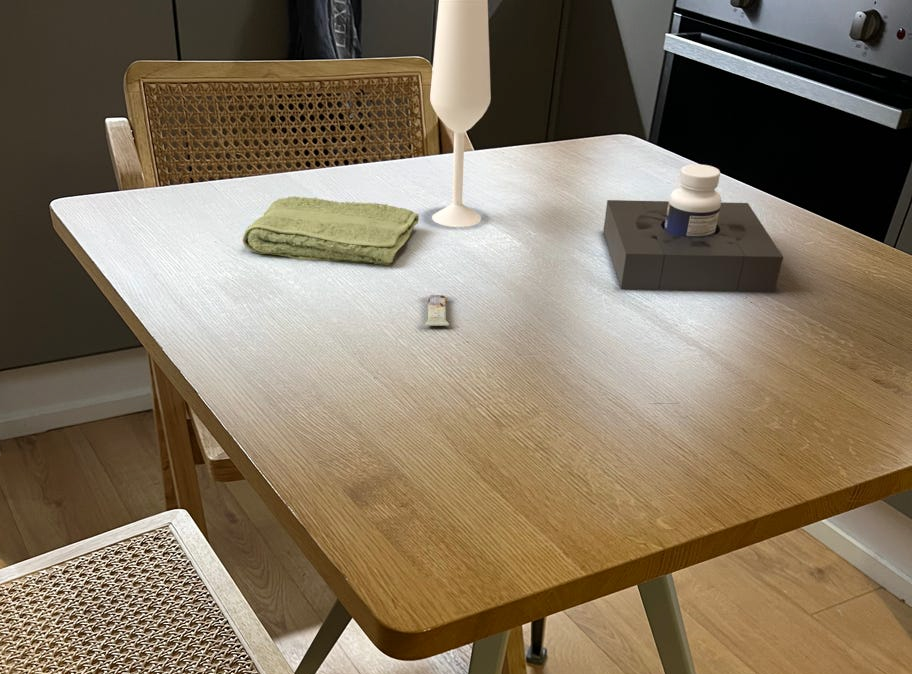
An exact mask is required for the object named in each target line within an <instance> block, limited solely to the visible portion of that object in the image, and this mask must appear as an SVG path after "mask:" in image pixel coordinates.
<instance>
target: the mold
mask: <svg viewBox="0 0 912 674" xmlns="http://www.w3.org/2000/svg"><path fill="white" fill-rule="evenodd" d="M668 203H669V200H628V199H627V200H623V199H622V200H621V199H608V200H606V206H605V216H604V222H603V230H602V231H603V232H602V235H603V238H604V241H605V245H606V247H607V251H608V255H609V257H610V260H611V263H612V266H613V269H614V273H615V276H616V279H617V281H618V282H617V283H618V286H619V289H620V290H621V291H622V290H623V291H669V292H670V291H671V292H672V291H673V292H676V291H677V292H716V293H717V292H718V293H719V292H723V293H725V292H726V293H764V294H765V293H767V294H768V293H769V294H774V293H775V290H776V287H777V283H778V279H779V275H780V272H781V268H782V264H783V261H784V256H783V254H782V252H781V251H780V250H779V248H778V247H777V245H776V244H775V242H774V241H773V239H772V238H771V236H770V235H769V233H768V232H767V229H766V228H765V227H764V225H763V224H762V222H761V221H760V219H759V218H758V216H757V215H756V213H755V212H754V210H753V209H752V207H751V205H750V204H749V203H748V202H726V201H725V202H723V201H721V206H720V211H719V216H718V220H717V225H716V230H715V235H714V236H710V237H704V238H689V237H683V236H678V235H675V234H672V233H669V232H667V231H665V230H664V226H665V220H666V215H667V209H668Z"/></svg>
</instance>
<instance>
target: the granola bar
mask: <svg viewBox="0 0 912 674" xmlns="http://www.w3.org/2000/svg"><path fill="white" fill-rule="evenodd" d="M449 298H450V297H447V296H445V295H441V294H430V295H428V296H427V297H426V300H427V301H428V302H427V321H426V322H425V323H424V326H429V327H433V326H435V327H445V326H450V323H449V322H448V321H447V305H446V304H447V303H446V302H447V301H448V300H449Z"/></svg>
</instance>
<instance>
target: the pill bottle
mask: <svg viewBox="0 0 912 674" xmlns="http://www.w3.org/2000/svg"><path fill="white" fill-rule="evenodd" d="M720 175H721V171H720V169H719V168H717V167H714V166H712V165H708V164H699V163H698V164H697V163H696V164H687V165H684V166H683V167H681V169H680V174H679V179H678V180H679V181H678V184H679V185H680V186H679V187H677V188H675V189H673V190H672V192H671V193H670V195H669V198H668V199H669V200H668V201H669V203H668V209H667V215H666V220H665V226H664V230H665V231H667V232H669V233H672V234H675V235H678V236H683V237H689V238H704V237H710V236H714V235H715V230H716V225H717V220H718V216H719V211H720V206H721V202H722V197H721V195H720V193H719V192H718V191H716V189H717V188H718V185H719V182H720Z"/></svg>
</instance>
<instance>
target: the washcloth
mask: <svg viewBox="0 0 912 674" xmlns="http://www.w3.org/2000/svg"><path fill="white" fill-rule="evenodd" d="M419 220H420V217H419V213H415V212H414V211H413V210H410V209H408V208H404V207H398V206H394V205H388V203H386V204H384V203H376V202H355V201H351V202H350V201H347V200H346V201H337V200H335V201H333V200H329V199H323V198H317V197H305V196H303V197H300V196H297V195H296V196H295V195H294V196H293V195H292V196H288V197H282V198H281V197H280V198H278V199H276V200H275V201H273V202H272V203H271V204H270V205H269V206H268V208H267V209H266V211H264V213H263V215H262V216H261V217H259V218H257V219H256V220H255V221H253V223H251V224H249V225H248V226H247V228H246V229H245V230H244V234H243V235H242V243H243V246H244V247H245V248H246V249H247V250H248V251H251V252H253V253H255V254H258V255H262V254H263V255H275V256H281V257H287V258H289V259H297V260H306V261H330V262H345V263H363V264H364V263H365V264H370V263H371V264H372V263H373V264H374V265H380V266H384V265H385V266H390V265H392V264H391V263H393V262H394V258H395V256H396V254H397V252H398V251H399V250H400V249H401V248H402V247H403V246H404V245H405V244H406V242H407V241H408V239H409V238H410V235H411V233H412V231H413V230H414V229H415V228H414V227H415V226H416V225H418V223H419Z"/></svg>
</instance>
